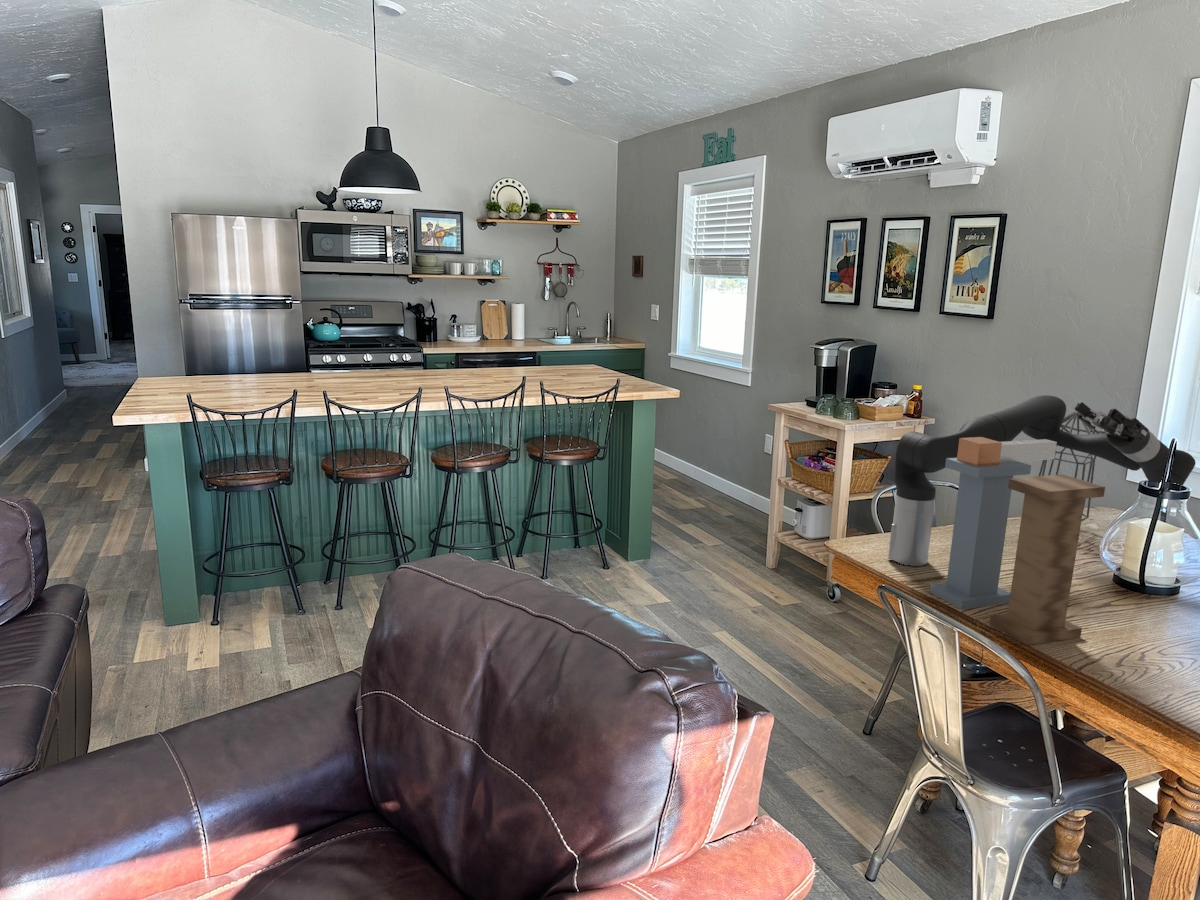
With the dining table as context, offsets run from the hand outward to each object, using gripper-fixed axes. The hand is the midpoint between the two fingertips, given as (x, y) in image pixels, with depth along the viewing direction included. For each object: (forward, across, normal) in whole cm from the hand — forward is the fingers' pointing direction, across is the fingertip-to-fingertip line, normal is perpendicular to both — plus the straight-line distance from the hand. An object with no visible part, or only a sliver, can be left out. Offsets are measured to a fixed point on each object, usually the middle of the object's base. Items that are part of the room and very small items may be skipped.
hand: (1093, 408), depth 185 cm
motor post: (+3, 0, -51) cm, 51 cm away
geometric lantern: (-52, +34, -20) cm, 65 cm away
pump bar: (+14, 0, -21) cm, 25 cm away
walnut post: (+3, -18, -51) cm, 55 cm away
